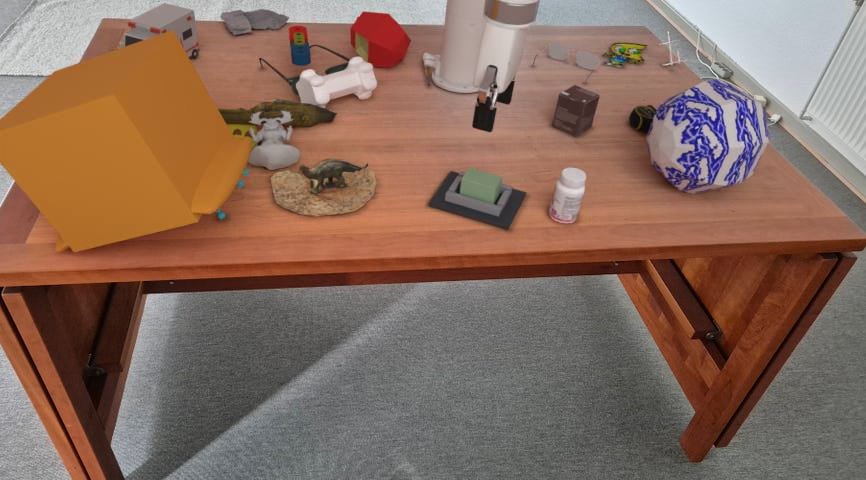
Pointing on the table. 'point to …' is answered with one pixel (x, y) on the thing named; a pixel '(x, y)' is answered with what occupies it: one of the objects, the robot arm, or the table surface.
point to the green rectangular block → (481, 185)
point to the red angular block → (379, 39)
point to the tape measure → (642, 117)
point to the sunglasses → (334, 69)
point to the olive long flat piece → (299, 113)
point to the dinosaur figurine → (324, 188)
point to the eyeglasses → (581, 57)
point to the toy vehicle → (165, 27)
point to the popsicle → (242, 131)
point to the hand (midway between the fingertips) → (491, 115)
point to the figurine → (272, 143)
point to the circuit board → (281, 100)
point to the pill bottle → (568, 195)
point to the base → (478, 203)
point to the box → (575, 110)
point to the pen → (426, 73)
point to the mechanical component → (299, 46)
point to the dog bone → (337, 83)
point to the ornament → (708, 137)
